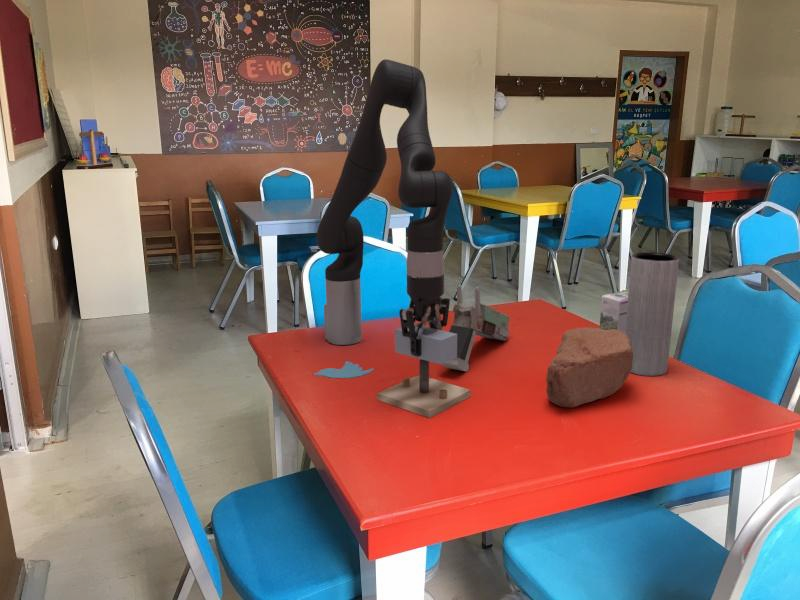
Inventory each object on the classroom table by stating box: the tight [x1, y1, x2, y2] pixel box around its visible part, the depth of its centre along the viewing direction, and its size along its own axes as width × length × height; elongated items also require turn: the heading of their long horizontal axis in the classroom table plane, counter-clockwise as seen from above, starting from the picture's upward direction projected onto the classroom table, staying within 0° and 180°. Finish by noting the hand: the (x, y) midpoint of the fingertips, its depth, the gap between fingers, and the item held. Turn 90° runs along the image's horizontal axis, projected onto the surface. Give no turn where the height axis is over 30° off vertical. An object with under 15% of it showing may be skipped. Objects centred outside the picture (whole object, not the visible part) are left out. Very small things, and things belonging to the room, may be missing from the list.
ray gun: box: [441, 284, 510, 372], centre depth 163 cm, size 7×32×20 cm, turn 152°
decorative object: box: [313, 361, 374, 379], centre depth 153 cm, size 12×1×10 cm
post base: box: [376, 359, 472, 419], centre depth 137 cm, size 14×14×8 cm
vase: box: [625, 251, 680, 377], centre depth 151 cm, size 10×10×27 cm
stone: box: [545, 326, 633, 409], centre depth 138 cm, size 16×26×15 cm, turn 145°
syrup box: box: [598, 292, 628, 333], centre depth 165 cm, size 6×6×14 cm
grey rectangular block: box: [394, 326, 457, 365], centre depth 135 cm, size 12×6×5 cm, turn 50°
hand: (425, 351), depth 136 cm, fingers closed on grey rectangular block, 5 cm apart
